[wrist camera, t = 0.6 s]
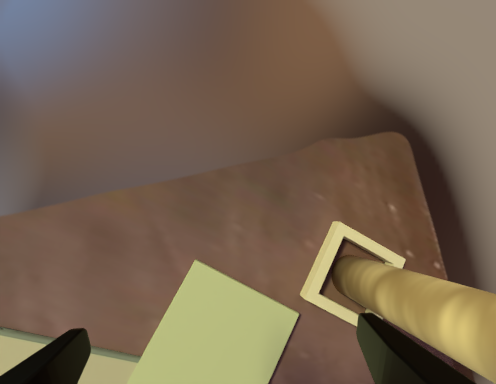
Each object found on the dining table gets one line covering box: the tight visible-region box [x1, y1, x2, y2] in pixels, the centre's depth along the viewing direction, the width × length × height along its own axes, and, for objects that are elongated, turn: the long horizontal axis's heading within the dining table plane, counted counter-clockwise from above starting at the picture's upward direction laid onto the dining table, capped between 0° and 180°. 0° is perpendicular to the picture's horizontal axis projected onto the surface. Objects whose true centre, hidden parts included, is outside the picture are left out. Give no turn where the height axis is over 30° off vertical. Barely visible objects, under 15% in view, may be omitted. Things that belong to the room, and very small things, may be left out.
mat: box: [127, 259, 299, 384], centre depth 20 cm, size 11×11×1 cm
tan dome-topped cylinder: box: [332, 255, 496, 384], centre depth 17 cm, size 4×4×13 cm
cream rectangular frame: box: [300, 222, 406, 326], centre depth 23 cm, size 8×8×1 cm
